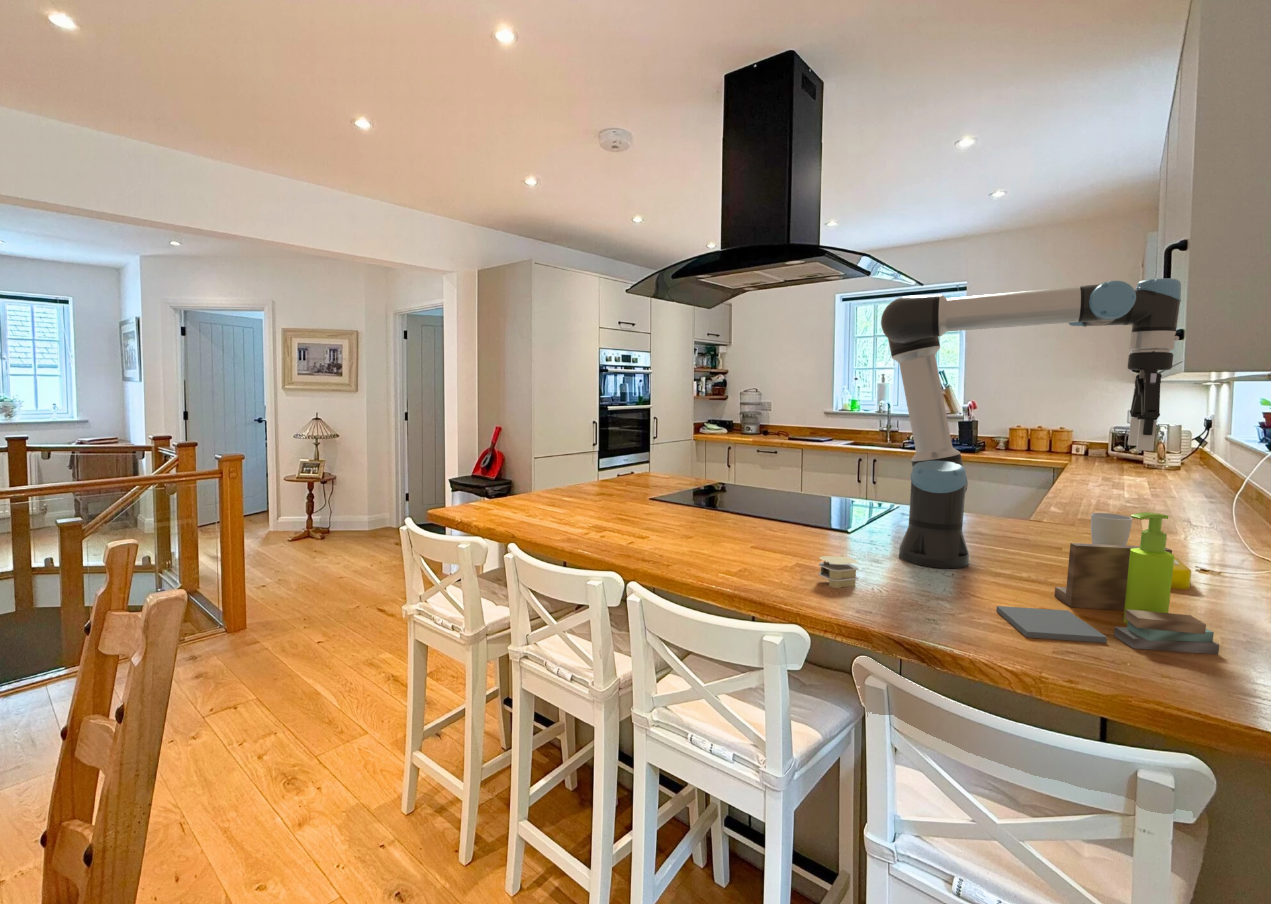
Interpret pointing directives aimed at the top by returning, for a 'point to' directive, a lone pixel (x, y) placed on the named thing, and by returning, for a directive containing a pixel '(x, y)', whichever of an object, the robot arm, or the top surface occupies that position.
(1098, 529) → the cup
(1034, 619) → the slate mat
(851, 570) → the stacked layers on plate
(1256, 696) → the top surface
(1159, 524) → the soap dispenser
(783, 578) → the top surface
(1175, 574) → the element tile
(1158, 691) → the top surface
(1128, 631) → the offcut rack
